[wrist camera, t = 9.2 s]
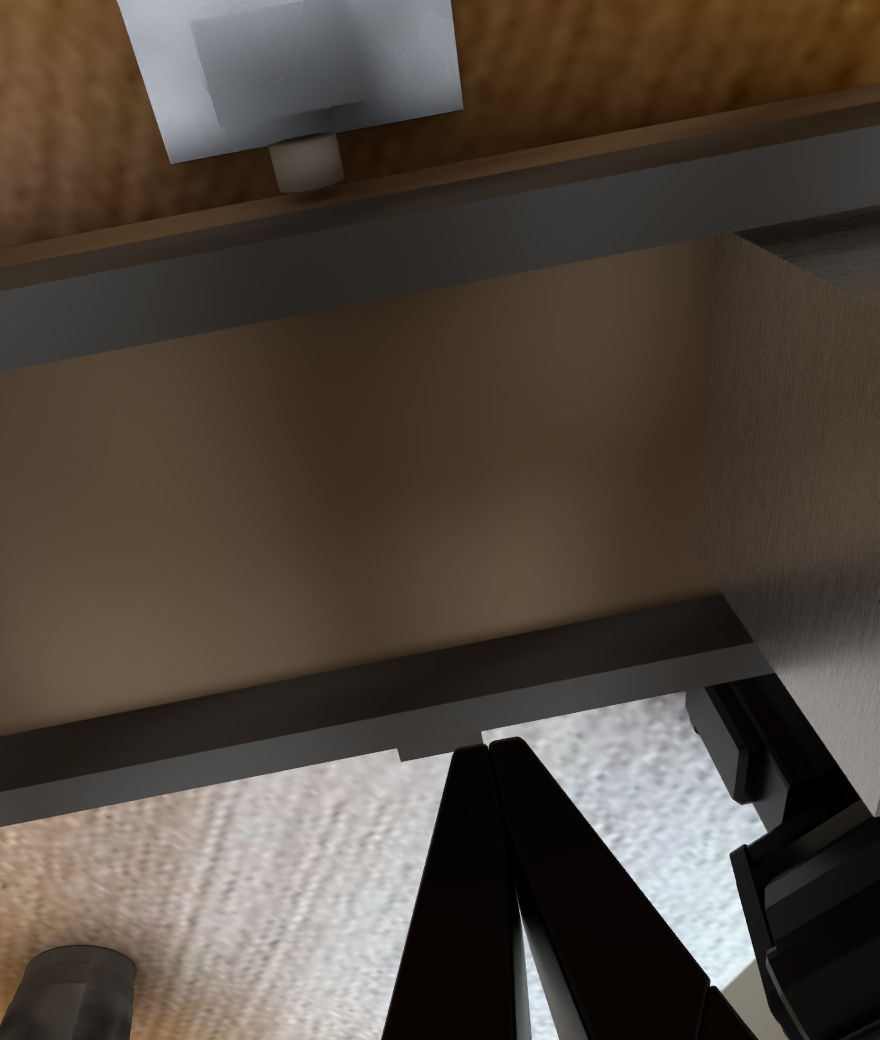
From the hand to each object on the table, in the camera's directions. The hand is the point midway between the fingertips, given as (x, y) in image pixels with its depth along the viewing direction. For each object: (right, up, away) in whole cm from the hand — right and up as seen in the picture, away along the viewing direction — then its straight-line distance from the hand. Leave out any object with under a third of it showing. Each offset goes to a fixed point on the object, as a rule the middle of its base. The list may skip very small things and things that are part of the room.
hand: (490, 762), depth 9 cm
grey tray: (-2, +6, +8) cm, 10 cm away
